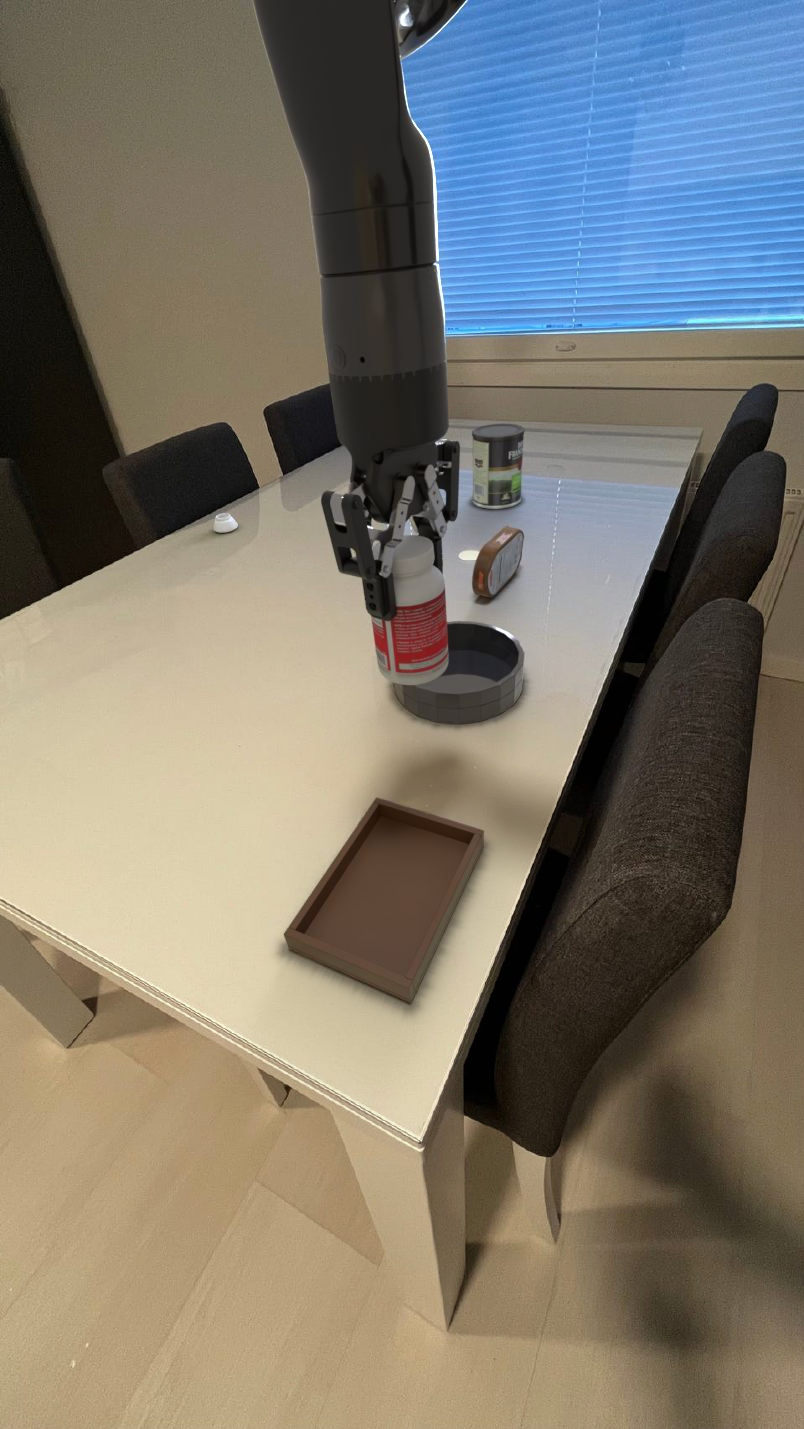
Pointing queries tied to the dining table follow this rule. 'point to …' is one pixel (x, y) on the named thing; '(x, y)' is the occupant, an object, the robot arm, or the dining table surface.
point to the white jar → (224, 523)
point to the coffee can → (497, 465)
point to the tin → (497, 561)
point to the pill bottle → (413, 617)
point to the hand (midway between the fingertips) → (407, 597)
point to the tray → (388, 897)
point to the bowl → (470, 677)
